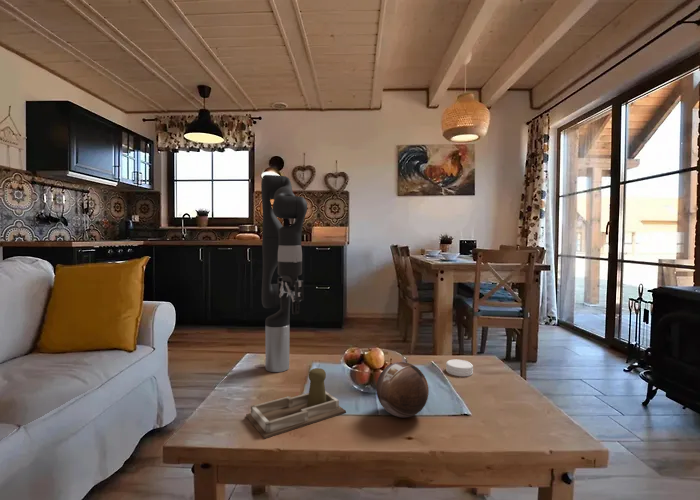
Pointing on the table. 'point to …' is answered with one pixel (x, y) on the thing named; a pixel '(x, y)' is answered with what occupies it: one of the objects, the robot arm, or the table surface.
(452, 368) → the white disc
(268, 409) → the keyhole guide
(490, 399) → the table surface
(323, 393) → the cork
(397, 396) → the wooden sphere
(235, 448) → the table surface
